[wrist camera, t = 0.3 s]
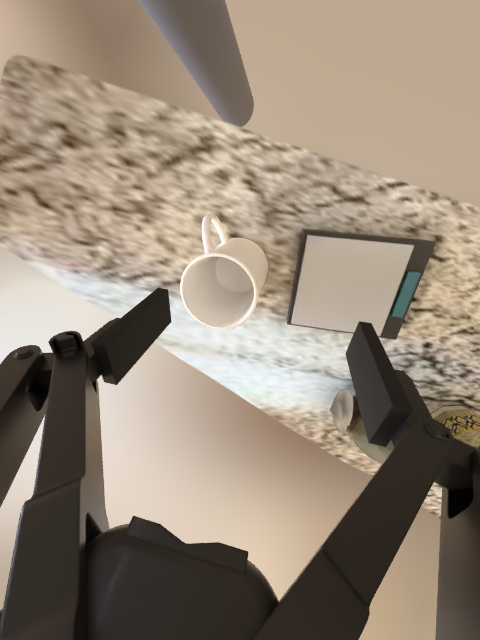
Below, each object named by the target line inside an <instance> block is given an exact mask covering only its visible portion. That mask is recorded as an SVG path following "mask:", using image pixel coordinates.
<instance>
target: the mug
mask: <svg viewBox="0 0 480 640" xmlns="http://www.w3.org/2000/svg"><path fill="white" fill-rule="evenodd" d="M210 220H211V221H212V222H213V224H214V225H215V227H216V229H217V231H218V233H219V235H220V238H221V241H222V243H221V244H220V245H219V246H218V247H216V248H215V249H214V248H213V245H212V241H211V235H210ZM202 237H203V243H204V248H205V254H203V255H201V256H199V257H198V258H196V259H195V260H193V261H192V262H191V263H190V264H189V265H188V266H187V268H186V269H185V271H184V273H183V275H182V278H181V284H180V291H181V297H182V300H183V303H184V305H185V307H186V309H187V310H188V312H189V313H190V314H191V315H192V316H193V317H194V318H195V319H196V320H197V321H198V322H200V323H202V324H203V325H205V326H208V327H211V328H214V329H231V328H234V327H237V326H239V325H241V324H243V323H244V322H245V321H246V320H247V319H248V318H249V317H250V316H251V315H252V313H253V311H254V310H255V307H256V304H257V301H258V298H259V295H260V292H261V288H262V286H263V284H264V283H265V281H266V278H267V275H268V262H267V258H266V256H265V254H264V252H263V251H262V249H261V248H260V247H259V246H258V245H257V244H256V243H254V242H252V241H251V240H248V239H245V238H231V239H228V238H227V235H226V232H225V230H224V228H223V226H222V224H221V222H220V221H219V219H218V218H217V217H216V216H215V215H213V214H208V215H206V216H205V217H204V219H203V222H202Z"/></svg>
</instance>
